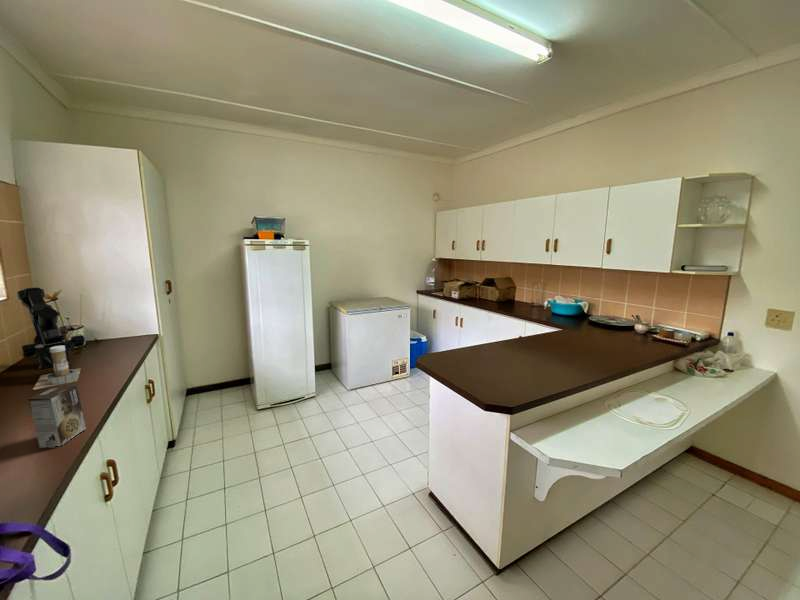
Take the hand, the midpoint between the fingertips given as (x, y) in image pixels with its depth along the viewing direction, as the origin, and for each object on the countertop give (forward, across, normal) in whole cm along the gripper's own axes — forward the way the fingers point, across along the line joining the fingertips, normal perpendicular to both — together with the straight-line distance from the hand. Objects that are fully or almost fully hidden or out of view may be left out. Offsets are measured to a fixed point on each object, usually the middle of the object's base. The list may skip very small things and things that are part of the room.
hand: (60, 361), depth 140 cm
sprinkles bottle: (+4, 0, +6) cm, 7 cm away
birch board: (+3, -1, +11) cm, 11 cm away
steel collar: (+5, 0, +7) cm, 9 cm away
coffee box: (+46, -10, -33) cm, 57 cm away
